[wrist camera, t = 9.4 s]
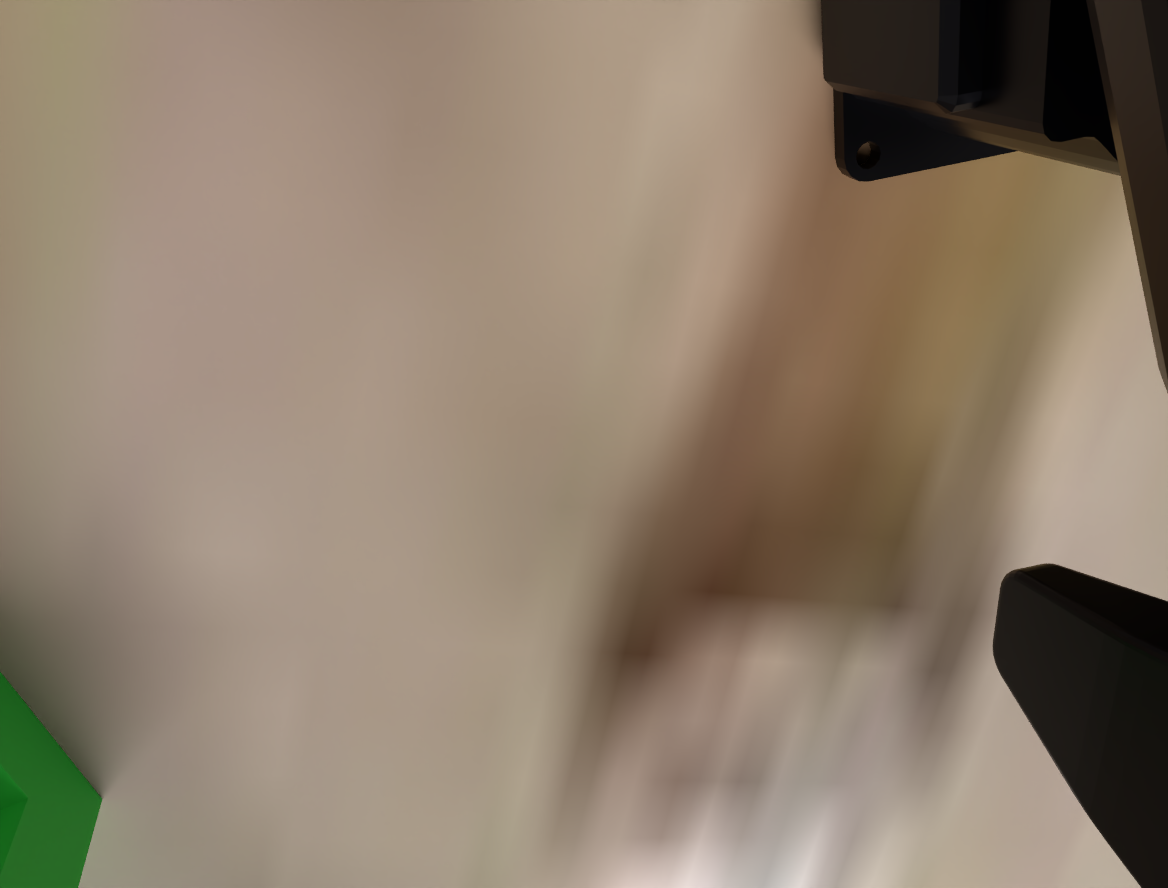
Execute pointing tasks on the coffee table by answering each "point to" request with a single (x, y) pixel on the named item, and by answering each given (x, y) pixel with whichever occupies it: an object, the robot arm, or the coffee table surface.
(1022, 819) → the coffee table surface
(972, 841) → the coffee table surface
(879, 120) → the robot arm
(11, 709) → the mechanical part
